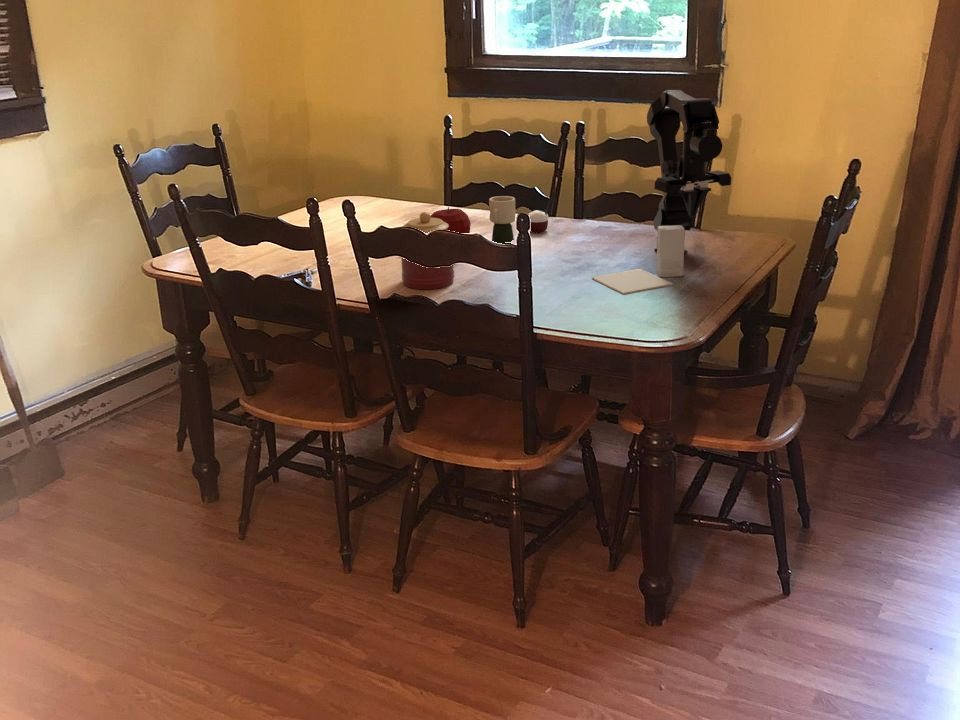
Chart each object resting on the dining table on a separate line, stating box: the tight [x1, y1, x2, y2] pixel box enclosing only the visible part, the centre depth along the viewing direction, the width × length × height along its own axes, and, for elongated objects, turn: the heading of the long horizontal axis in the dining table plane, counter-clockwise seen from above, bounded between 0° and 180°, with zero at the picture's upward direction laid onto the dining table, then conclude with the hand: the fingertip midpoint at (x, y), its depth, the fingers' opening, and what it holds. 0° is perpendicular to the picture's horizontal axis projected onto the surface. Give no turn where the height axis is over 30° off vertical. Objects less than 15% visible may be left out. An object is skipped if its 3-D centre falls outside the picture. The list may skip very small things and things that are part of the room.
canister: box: [400, 211, 455, 290], centre depth 228 cm, size 13×13×18 cm
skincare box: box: [656, 225, 686, 278], centre depth 228 cm, size 6×4×12 cm
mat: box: [591, 268, 674, 295], centre depth 226 cm, size 14×14×1 cm
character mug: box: [488, 195, 516, 245], centre depth 258 cm, size 11×7×13 cm, turn 156°
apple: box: [430, 206, 472, 234], centre depth 250 cm, size 12×12×13 cm
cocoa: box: [528, 189, 555, 234], centre depth 270 cm, size 10×6×12 cm, turn 62°
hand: (691, 216), depth 231 cm, fingers closed
